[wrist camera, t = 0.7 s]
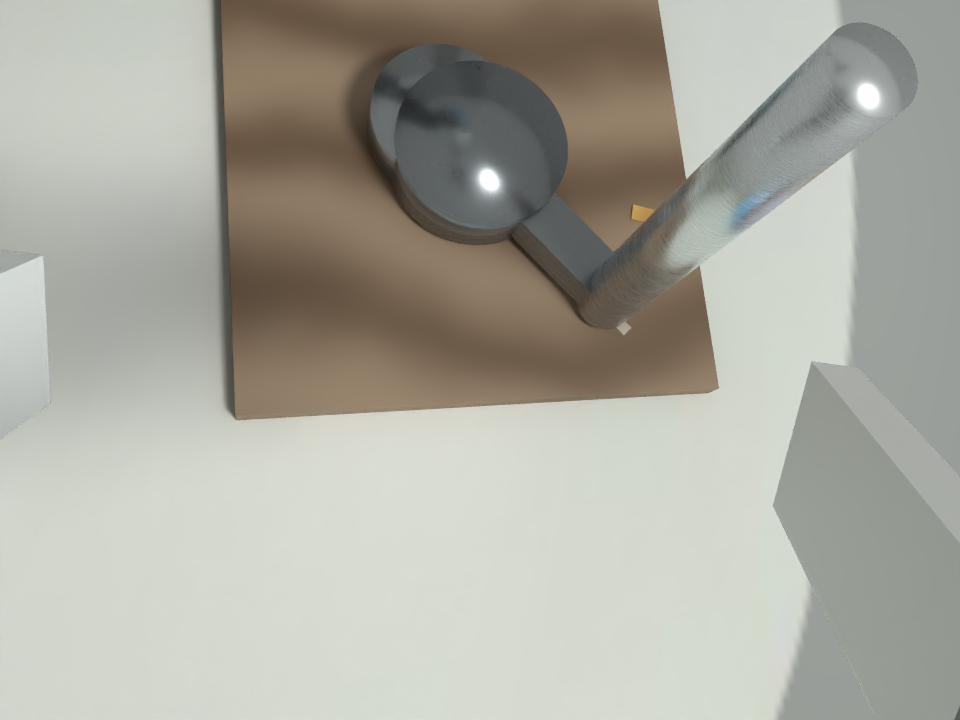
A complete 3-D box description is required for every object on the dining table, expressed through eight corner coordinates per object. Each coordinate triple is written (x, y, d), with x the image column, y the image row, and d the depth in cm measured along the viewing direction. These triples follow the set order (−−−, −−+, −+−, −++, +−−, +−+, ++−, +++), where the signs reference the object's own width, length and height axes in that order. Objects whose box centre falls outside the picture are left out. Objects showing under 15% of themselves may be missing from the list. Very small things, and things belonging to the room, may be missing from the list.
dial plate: (220, -31, 39) (218, -47, 38) (646, -9, 43) (654, -23, 42) (236, 420, 35) (234, 415, 34) (708, 393, 39) (719, 387, 38)
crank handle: (328, 131, 37) (365, -260, 20) (446, 38, 39) (573, -386, 22) (569, 377, 36) (821, 198, 19) (675, 270, 39) (985, 23, 21)
